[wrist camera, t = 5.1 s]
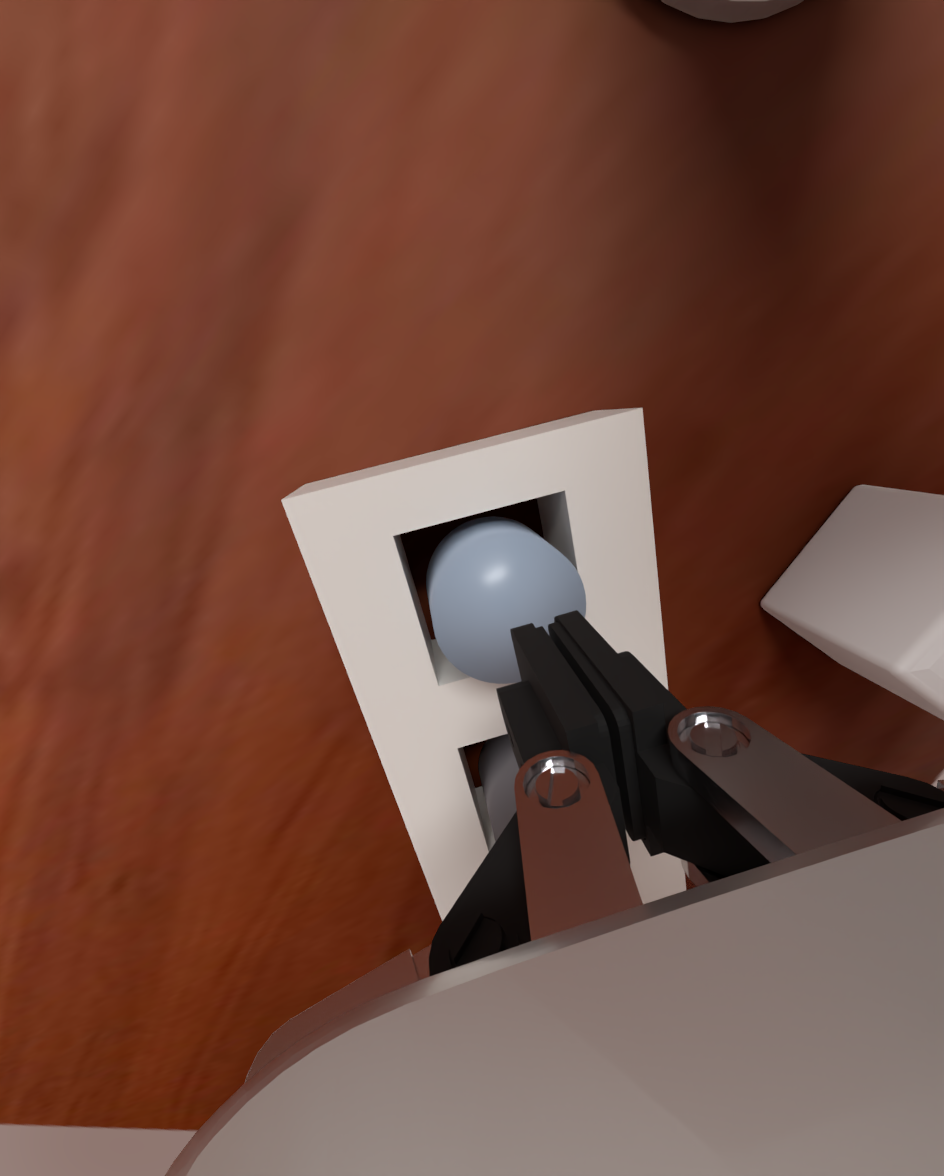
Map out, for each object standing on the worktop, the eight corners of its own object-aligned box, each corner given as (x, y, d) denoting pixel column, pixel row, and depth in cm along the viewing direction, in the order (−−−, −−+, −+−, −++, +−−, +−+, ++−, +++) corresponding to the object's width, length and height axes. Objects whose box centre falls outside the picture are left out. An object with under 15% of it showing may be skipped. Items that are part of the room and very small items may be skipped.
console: (304, 484, 18) (281, 500, 15) (594, 410, 19) (642, 407, 15) (468, 938, 28) (479, 1017, 25) (653, 878, 29) (691, 946, 25)
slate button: (410, 536, 17) (413, 563, 14) (540, 501, 17) (574, 519, 14) (444, 652, 19) (454, 701, 16) (561, 619, 19) (595, 660, 16)
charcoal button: (466, 731, 20) (480, 790, 17) (576, 699, 21) (609, 751, 17) (491, 815, 22) (507, 883, 19) (591, 785, 22) (624, 846, 19)
